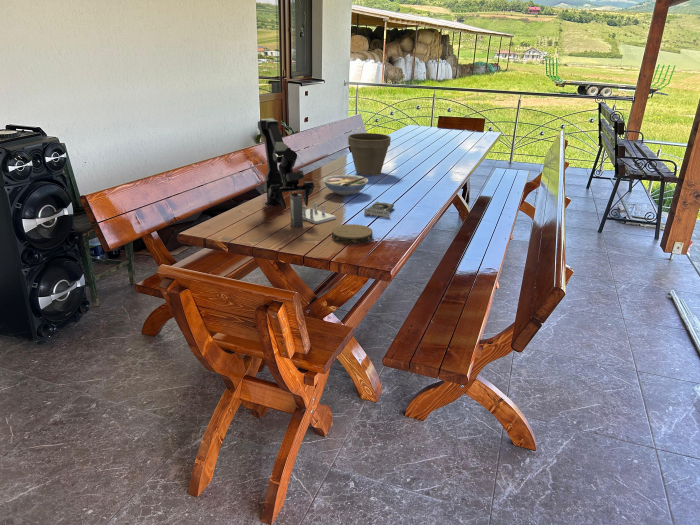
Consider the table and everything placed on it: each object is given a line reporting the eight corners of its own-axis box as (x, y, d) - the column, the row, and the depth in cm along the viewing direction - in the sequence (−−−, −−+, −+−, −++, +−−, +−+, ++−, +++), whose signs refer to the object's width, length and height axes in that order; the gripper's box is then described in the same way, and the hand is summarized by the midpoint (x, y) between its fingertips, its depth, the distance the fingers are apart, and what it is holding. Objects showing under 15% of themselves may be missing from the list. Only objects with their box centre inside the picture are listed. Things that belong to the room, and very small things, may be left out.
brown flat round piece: (359, 229, 215) (360, 222, 214) (380, 241, 202) (380, 233, 201) (325, 234, 208) (325, 227, 207) (343, 247, 195) (343, 239, 194)
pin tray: (292, 215, 230) (292, 204, 228) (311, 210, 238) (311, 199, 236) (316, 223, 220) (316, 212, 218) (335, 218, 227) (335, 207, 225)
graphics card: (389, 212, 227) (363, 208, 230) (389, 220, 228) (363, 216, 232) (400, 203, 241) (375, 199, 245) (399, 210, 243) (375, 207, 247)
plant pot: (387, 178, 298) (388, 140, 290) (344, 176, 302) (344, 138, 293) (391, 169, 321) (392, 133, 313) (351, 167, 324) (351, 132, 316)
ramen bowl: (339, 186, 281) (339, 170, 278) (377, 191, 271) (377, 176, 267) (313, 196, 261) (312, 179, 258) (352, 202, 251) (352, 186, 248)
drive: (290, 223, 220) (289, 193, 215) (299, 222, 221) (298, 192, 216) (294, 227, 215) (293, 196, 210) (302, 226, 217) (302, 195, 212)
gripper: (268, 165, 210) (277, 199, 205) (312, 162, 217) (322, 194, 212) (264, 180, 220) (273, 213, 214) (306, 177, 227) (316, 208, 221)
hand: (296, 206), depth 215 cm, fingers open, 9 cm apart
